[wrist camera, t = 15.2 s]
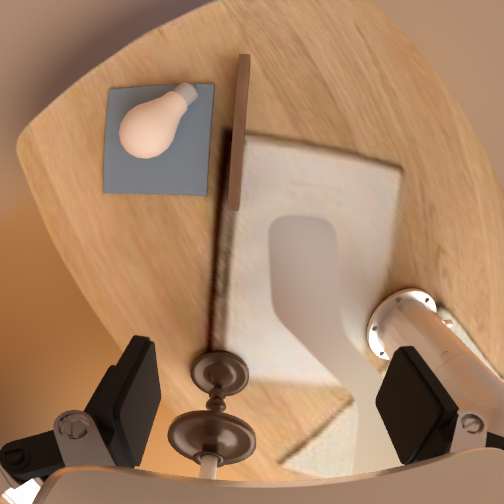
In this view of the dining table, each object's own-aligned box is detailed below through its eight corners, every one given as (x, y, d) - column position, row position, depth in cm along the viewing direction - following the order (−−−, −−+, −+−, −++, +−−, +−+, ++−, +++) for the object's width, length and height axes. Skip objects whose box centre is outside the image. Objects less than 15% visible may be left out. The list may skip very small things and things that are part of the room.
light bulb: (178, 58, 27) (103, 128, 26) (220, 96, 29) (147, 169, 28) (172, 77, 33) (110, 138, 32) (207, 110, 35) (147, 171, 34)
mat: (214, 85, 32) (214, 84, 32) (206, 195, 36) (206, 196, 36) (111, 90, 32) (109, 89, 31) (105, 192, 36) (103, 193, 35)
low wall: (250, 65, 32) (250, 54, 28) (239, 205, 37) (238, 210, 33) (240, 64, 32) (239, 54, 28) (229, 204, 37) (227, 210, 33)
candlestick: (223, 405, 47) (207, 597, 13) (172, 371, 44) (114, 576, 11) (269, 372, 44) (285, 595, 11) (216, 332, 42) (177, 586, 9)
